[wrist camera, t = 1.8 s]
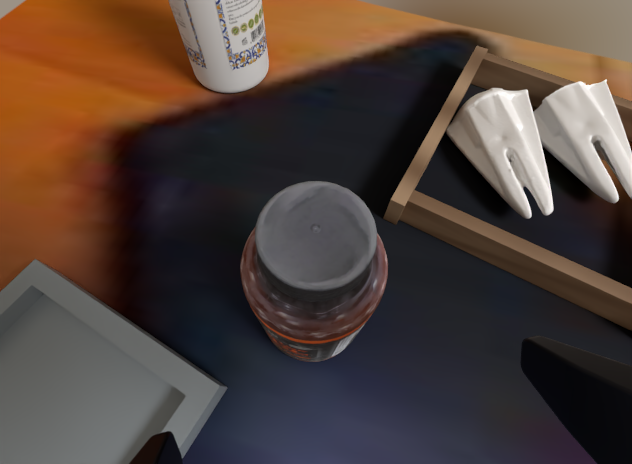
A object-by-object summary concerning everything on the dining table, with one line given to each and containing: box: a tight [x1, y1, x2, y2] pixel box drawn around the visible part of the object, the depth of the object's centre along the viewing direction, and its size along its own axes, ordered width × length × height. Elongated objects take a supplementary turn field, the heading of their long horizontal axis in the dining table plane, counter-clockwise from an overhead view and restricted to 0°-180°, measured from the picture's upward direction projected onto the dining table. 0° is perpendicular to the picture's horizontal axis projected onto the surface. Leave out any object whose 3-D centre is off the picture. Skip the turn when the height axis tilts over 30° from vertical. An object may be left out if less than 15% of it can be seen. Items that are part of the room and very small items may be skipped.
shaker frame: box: [383, 46, 632, 331], centre depth 25 cm, size 19×18×2 cm
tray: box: [0, 259, 228, 464], centre depth 16 cm, size 14×14×2 cm
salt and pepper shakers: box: [446, 80, 632, 219], centre depth 25 cm, size 12×4×11 cm
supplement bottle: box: [240, 181, 388, 362], centre depth 15 cm, size 6×6×11 cm
